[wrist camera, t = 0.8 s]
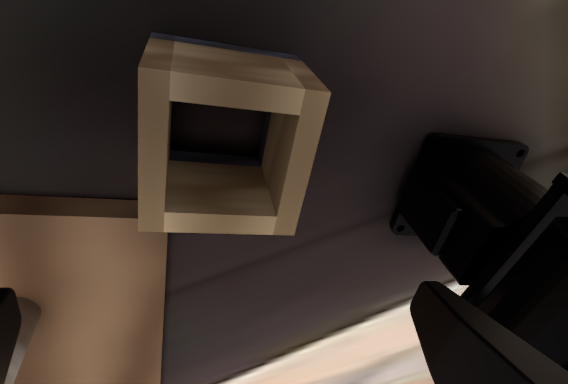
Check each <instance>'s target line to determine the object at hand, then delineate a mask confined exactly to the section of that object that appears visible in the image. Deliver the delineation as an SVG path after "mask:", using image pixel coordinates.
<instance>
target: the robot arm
mask: <svg viewBox="0 0 568 384" xmlns="http://www.w3.org/2000/svg"><path fill="white" fill-rule="evenodd" d="M435 141H437V143H436V144H435V145H434V146H432V144H433V143H434V142H435ZM528 151H529V148H528V147H527V146H526V145H524V144H523V143H520V142H512V141H503V140H495V139H486V138H477V137H468V136H459V135H450V134H441V133H433V134H431V135H429V136H428V137H427V138H426V139H425V141H424V144H423V146H422V149H421V151H420V153H419V156H418V158H417V161H416V163H415V166H414V168H413V170H412V172H411V174H410V177H409V179H408V182H407V184H406V187H405V189H404V191H403V194H402V196H401V199H400V201H399V204H398V206H397V209H396V212H395V214H394V217H393V219H392V221H391V224H390V229H391V230H392V232H393V233H394V234H395V235H414V236H418V238H419V239H420V240H421V241H422V243H423V244H424V245H425V247H426V248H427V249H428V251H429V252H430V253H431V255H432V256H434V257H438V258H439V259H440V261H441V262H442V263H443V264H444V266H445V267H446V268H447V270H448V271H449V272H450V273H451V275H452V276H453V277H454V279H455V280H456V281H457V282H458V284H459V285H469V286H468V288H467V289H466V290H465V291H464V292H463V294H462V295H461V296H459V295H457V294H456V293H454V292H453V291H452V290H450V289H449V288H447V287H446V286H444V285H443V284H441V283H440V282H437V281H424V282H422V283H421V284H420V285H419V287H418V289H417V291H416V293H415V296H414V298H413V300H412V302H411V305H410V312H411V316H412V319H413V322H414V325H415V328H416V331H417V335H418V338H419V341H420V344H421V347H422V350H423V353H424V356H425V360H426V363H427V365H428V368H429V371H430V374H431V376H432V378H433V381H434V383H435V384H568V174H566V173H563V172H560V173H559V174H558V175H557V176H556V178H555V179H554V180H553V181H552V183H553V185H552V186H551V187H550V189H549V190H547V189H546V188H545V187H543V186H542V185H540V184H539V183H537V182H536V181H535V180H533V179H532V178H530V177H529V176H527V175H526V174H525V173H523V172H522V171H520V170H519V168H520V166H521V165H522V163H523V161H524V159H525V158H526V156H527V154H528ZM517 152H518V153H517ZM400 225H401V226H400ZM398 226H400V227H398ZM397 227H398V228H397ZM21 323H22V316H21V312H20V308H19V304H18V300H17V296H16V293H15V291H14V289H12V288H9V287H3V288H0V384H4V383H5V380H6V376H7V373H8V369H9V366H10V363H11V359H12V356H13V352H14V349H15V346H16V342H17V339H18V335H19V332H20V328H21Z"/></svg>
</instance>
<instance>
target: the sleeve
mask: <svg viewBox="0 0 568 384" xmlns="http://www.w3.org/2000/svg"><path fill="white" fill-rule="evenodd" d="M330 96H331V92H330V91H329V90H328V88H327V87H326V86H325V85H324V84H323V83H322V82H321V81H320V80H319V79H318V78H317V77H316V75H315V74H314V73H313V72H312V71H311V70H310V69H309V68H308V67H307V66H306V65H305V63H304V62H303V61H302V60H301V59H300V58H299V57H298V56H297V55H294V54H287V53H281V52H275V51H268V50H262V49H256V48H249V47H243V46H237V45H230V44H224V43H218V42H211V41H205V40H199V39H192V38H186V37H179V36H173V35H167V34H160V33H154V32H151V35H150V37H149V40H148V43H147V45H146V48H145V50H144V53H143V55H142V58H141V60H140V63H139V66H138V232H178V233H218V234H259V235H294V234H295V231H296V227H297V223H298V219H299V215H300V211H301V208H302V204H303V200H304V196H305V192H306V188H307V184H308V181H309V177H310V173H311V169H312V165H313V161H314V157H315V154H316V150H317V146H318V142H319V138H320V134H321V131H322V127H323V123H324V119H325V115H326V111H327V107H328V104H329V100H330ZM172 101H177V102H186V103H195V104H204V105H212V106H221V107H230V108H239V109H248V110H256V111H265V112H266V116H265V121H264V127H263V133H262V138H261V144H260V150H259V155H258V157H249V156H237V155H224V154H212V153H199V152H187V151H174V150H170V139H171V117H172Z"/></svg>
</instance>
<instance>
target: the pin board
mask: <svg viewBox="0 0 568 384" xmlns="http://www.w3.org/2000/svg"><path fill="white" fill-rule="evenodd" d="M167 244H168V232H138V200H118V199H95V198H73V197H51V196H29V195H7V194H0V288H3V287H9V288H12V289H14V291H15V293H16V296H17V300H18V304H19V308H20V312H21V316H22V323H21V328H20V332H19V335H18V339H17V342H16V346H15V349H14V352H13V356H12V359H11V363H10V366H9V369H8V373H7V376H6V380H5V383H4V384H161V365H162V345H163V325H164V305H165V285H166V265H167Z"/></svg>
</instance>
